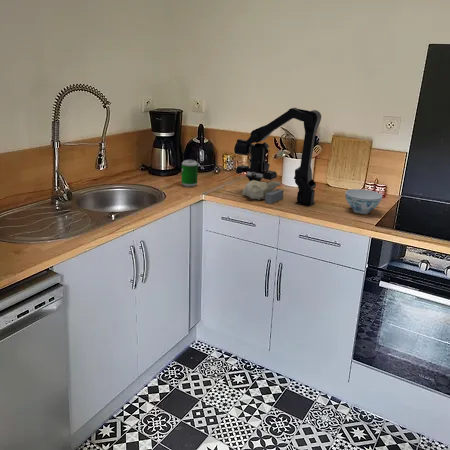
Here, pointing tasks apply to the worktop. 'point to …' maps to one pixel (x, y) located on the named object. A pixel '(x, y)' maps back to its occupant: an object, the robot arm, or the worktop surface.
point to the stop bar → (274, 196)
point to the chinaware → (362, 200)
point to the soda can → (189, 173)
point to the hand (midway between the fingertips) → (254, 190)
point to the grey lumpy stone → (259, 189)
